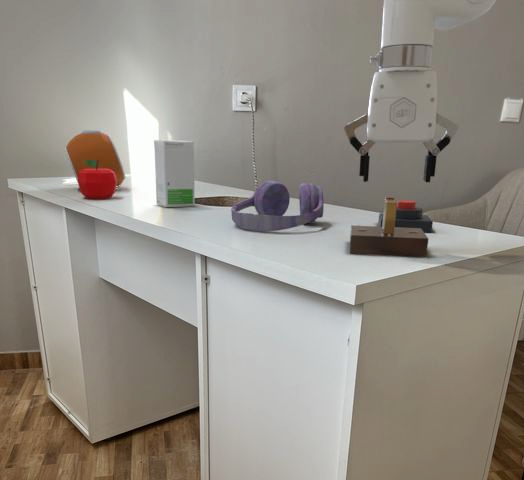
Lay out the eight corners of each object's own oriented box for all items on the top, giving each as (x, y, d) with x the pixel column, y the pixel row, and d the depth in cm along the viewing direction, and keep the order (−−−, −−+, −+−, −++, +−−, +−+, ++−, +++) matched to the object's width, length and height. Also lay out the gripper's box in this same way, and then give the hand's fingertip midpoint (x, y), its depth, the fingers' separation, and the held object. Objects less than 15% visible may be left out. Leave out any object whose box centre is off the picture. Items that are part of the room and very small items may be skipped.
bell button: (413, 209, 115) (414, 200, 114) (415, 211, 112) (416, 202, 111) (396, 208, 115) (396, 200, 115) (397, 210, 112) (398, 202, 111)
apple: (113, 195, 160) (110, 158, 157) (123, 199, 152) (120, 160, 148) (75, 196, 156) (71, 158, 152) (83, 200, 147) (79, 160, 143)
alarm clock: (129, 191, 169) (125, 130, 163) (68, 192, 164) (62, 129, 158) (123, 185, 186) (119, 130, 180) (68, 186, 181) (62, 129, 175)
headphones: (261, 211, 128) (216, 238, 113) (259, 175, 124) (212, 198, 108) (336, 218, 120) (299, 248, 105) (337, 180, 116) (298, 205, 101)
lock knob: (393, 234, 90) (397, 200, 88) (383, 233, 90) (387, 200, 88) (391, 228, 95) (394, 197, 93) (381, 228, 95) (385, 196, 93)
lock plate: (419, 245, 97) (421, 227, 96) (426, 257, 88) (428, 237, 87) (349, 242, 99) (351, 224, 98) (349, 253, 90) (351, 234, 88)
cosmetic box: (165, 208, 137) (162, 140, 131) (155, 204, 142) (152, 139, 136) (196, 206, 141) (194, 140, 135) (185, 203, 146) (183, 140, 140)
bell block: (425, 225, 118) (428, 206, 117) (431, 232, 110) (434, 212, 109) (378, 223, 120) (379, 204, 118) (380, 230, 111) (382, 210, 110)
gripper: (346, 60, 81) (341, 183, 87) (470, 58, 78) (455, 184, 85) (347, 66, 88) (342, 179, 94) (460, 63, 85) (447, 179, 92)
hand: (395, 181), depth 89 cm, fingers open, 9 cm apart
